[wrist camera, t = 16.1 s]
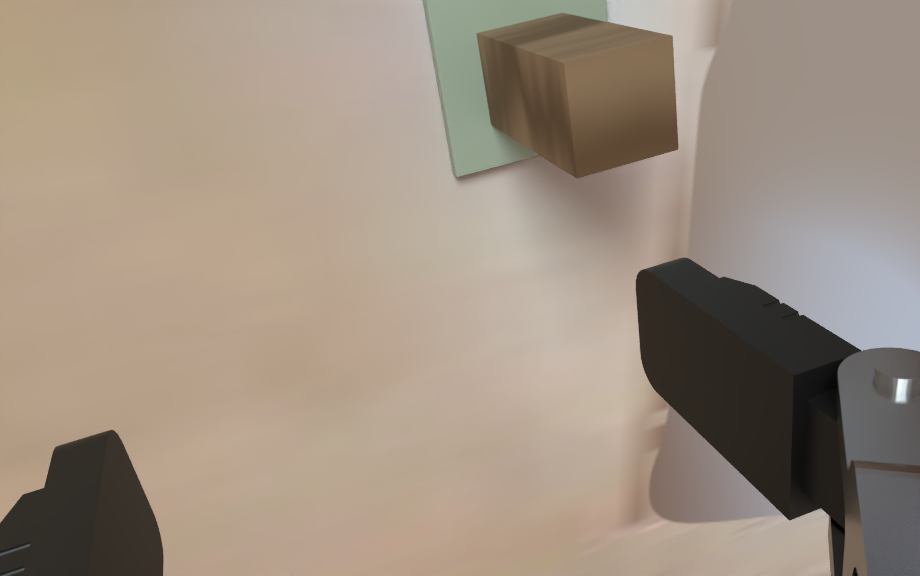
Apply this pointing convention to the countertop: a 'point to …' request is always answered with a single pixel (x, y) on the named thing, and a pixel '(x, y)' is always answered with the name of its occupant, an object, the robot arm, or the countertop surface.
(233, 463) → the countertop surface
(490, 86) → the walnut block
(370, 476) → the countertop surface
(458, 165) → the coaster
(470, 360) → the countertop surface
